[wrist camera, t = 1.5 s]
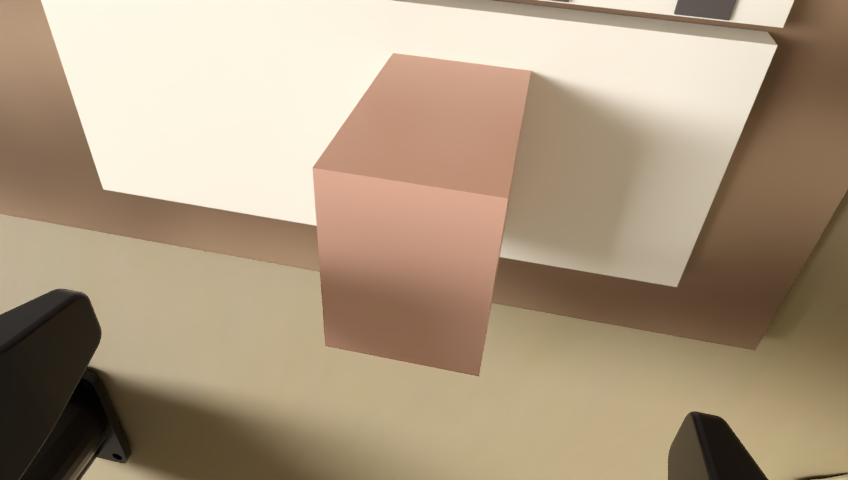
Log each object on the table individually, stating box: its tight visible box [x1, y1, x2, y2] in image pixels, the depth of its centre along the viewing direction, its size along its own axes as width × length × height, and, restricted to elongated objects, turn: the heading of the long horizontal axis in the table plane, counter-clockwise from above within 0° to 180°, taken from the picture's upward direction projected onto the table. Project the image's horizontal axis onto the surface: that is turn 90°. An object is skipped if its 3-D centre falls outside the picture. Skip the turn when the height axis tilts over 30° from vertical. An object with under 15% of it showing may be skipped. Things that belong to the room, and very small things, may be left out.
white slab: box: [41, 0, 778, 376], centre depth 13 cm, size 6×16×6 cm, turn 88°
